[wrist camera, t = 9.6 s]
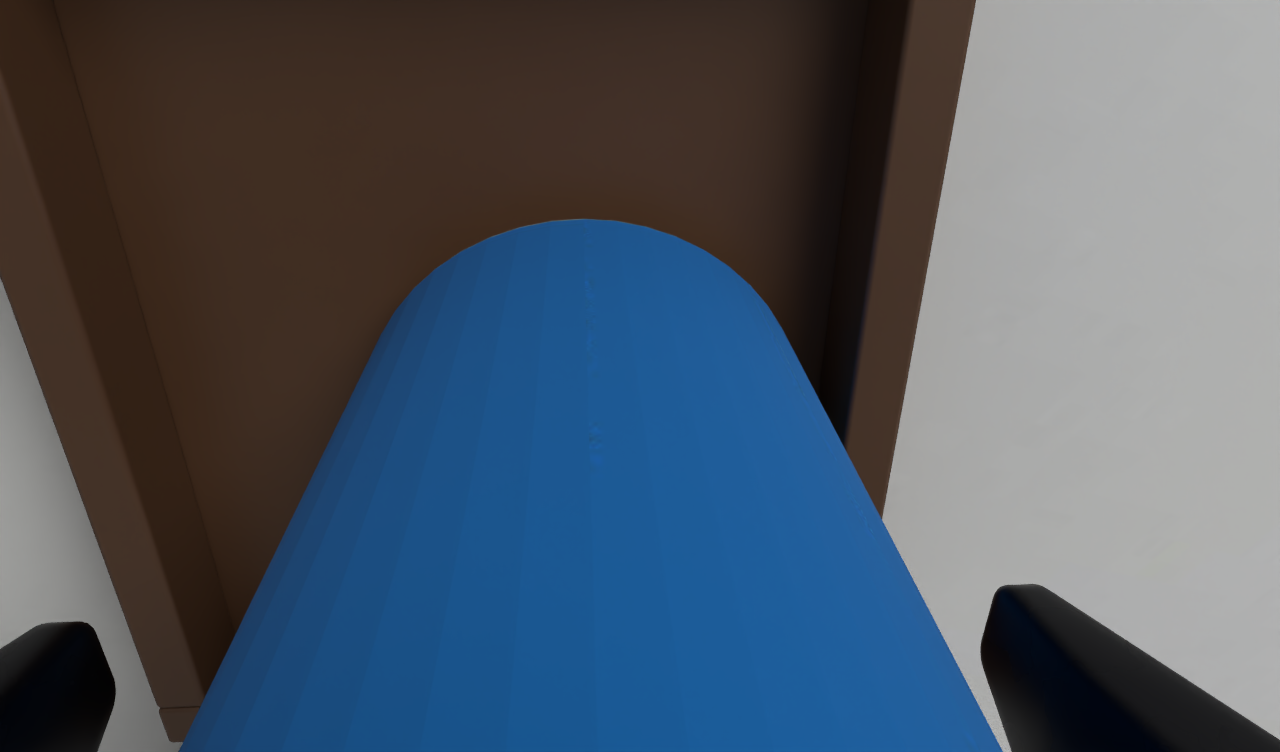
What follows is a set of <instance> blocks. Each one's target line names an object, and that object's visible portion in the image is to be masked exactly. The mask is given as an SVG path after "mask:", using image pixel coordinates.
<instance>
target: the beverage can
mask: <svg viewBox="0 0 1280 752" xmlns="http://www.w3.org/2000/svg"><path fill="white" fill-rule="evenodd" d="M179 752H1003V751H1002V749H1001V747H1000V746H999V744H998V742H997V740H996V738H995V736H994V734H993V732H992V730H991V728H990V726H989V724H988V723H987V721H986V719H985V717H984V715H983V713H982V711H981V709H980V707H979V705H978V703H977V701H976V700H975V698H974V696H973V694H972V692H971V690H970V688H969V686H968V684H967V682H966V680H965V678H964V676H963V675H962V673H961V671H960V669H959V667H958V665H957V663H956V661H955V659H954V657H953V655H952V653H951V652H950V650H949V648H948V646H947V644H946V642H945V640H944V638H943V636H942V634H941V632H940V630H939V629H938V627H937V625H936V623H935V621H934V619H933V617H932V615H931V613H930V611H929V609H928V607H927V606H926V604H925V602H924V600H923V598H922V596H921V594H920V592H919V590H918V588H917V586H916V584H915V583H914V581H913V579H912V577H911V575H910V573H909V571H908V569H907V567H906V565H905V563H904V561H903V560H902V558H901V556H900V554H899V552H898V550H897V548H896V546H895V544H894V542H893V540H892V538H891V536H890V535H889V533H888V531H887V529H886V527H885V525H884V523H883V521H882V519H881V517H880V515H879V513H878V512H877V510H876V508H875V506H874V504H873V502H872V500H871V498H870V496H869V494H868V492H867V490H866V489H865V487H864V485H863V483H862V481H861V479H860V477H859V475H858V473H857V471H856V469H855V467H854V466H853V464H852V462H851V460H850V458H849V456H848V454H847V452H846V450H845V448H844V446H843V444H842V443H841V441H840V439H839V437H838V435H837V433H836V431H835V429H834V427H833V425H832V423H831V421H830V420H829V418H828V416H827V414H826V412H825V410H824V408H823V406H822V404H821V402H820V400H819V398H818V396H817V395H816V393H815V391H814V389H813V387H812V385H811V383H810V381H809V379H808V377H807V375H806V373H805V372H804V370H803V368H802V366H801V364H800V362H799V360H798V358H797V356H796V354H795V352H794V350H793V349H792V347H791V345H790V343H789V341H788V339H787V337H786V335H785V333H784V331H783V329H782V328H781V326H780V324H779V323H778V321H777V320H776V318H775V316H774V315H773V313H772V312H771V310H770V308H769V307H768V305H767V304H766V303H765V302H764V301H763V300H762V298H761V297H760V296H759V295H758V294H757V293H756V291H755V290H754V289H753V288H752V287H751V285H749V284H748V283H747V282H746V281H745V280H744V279H743V278H742V277H740V276H739V275H738V274H737V273H736V272H735V271H734V270H732V269H731V268H730V267H729V266H728V265H726V264H725V263H723V262H722V261H720V260H719V259H717V258H716V257H714V256H713V255H711V254H710V253H708V252H706V251H705V250H703V249H701V248H699V247H697V246H695V245H693V244H691V243H689V242H687V241H685V240H682V239H680V238H678V237H676V236H673V235H670V234H667V233H664V232H661V231H658V230H655V229H652V228H649V227H646V226H640V225H635V224H630V223H624V222H619V221H611V220H595V219H573V220H558V221H549V222H544V223H539V224H533V225H528V226H523V227H519V228H516V229H513V230H510V231H507V232H504V233H501V234H498V235H495V236H492V237H489V238H487V239H485V240H483V241H481V242H479V243H477V244H475V245H473V246H471V247H469V248H467V249H465V250H463V251H461V252H459V253H458V254H456V255H455V256H454V257H452V258H451V259H449V260H448V261H446V262H445V263H443V264H442V265H440V266H439V267H437V268H436V269H435V270H433V271H432V272H431V273H430V274H429V275H428V276H427V277H426V278H425V279H423V280H422V281H421V282H420V283H419V284H418V285H417V286H416V287H415V288H414V289H413V290H412V291H411V292H410V293H409V295H408V296H407V297H406V298H405V299H404V301H403V302H402V303H401V304H400V305H399V307H398V308H397V309H396V310H395V312H394V314H393V315H392V317H391V319H390V320H389V322H388V324H387V325H386V327H385V328H384V330H383V332H382V333H381V335H380V337H379V340H378V342H377V344H376V346H375V348H374V350H373V352H372V354H371V356H370V358H369V360H368V362H367V364H366V366H365V368H364V370H363V373H362V375H361V377H360V379H359V381H358V383H357V385H356V387H355V389H354V391H353V393H352V395H351V397H350V399H349V401H348V403H347V406H346V408H345V410H344V412H343V414H342V416H341V418H340V420H339V422H338V424H337V426H336V428H335V430H334V432H333V434H332V436H331V438H330V441H329V443H328V445H327V447H326V449H325V451H324V453H323V455H322V457H321V459H320V461H319V463H318V465H317V467H316V469H315V471H314V474H313V476H312V478H311V480H310V482H309V484H308V486H307V488H306V490H305V492H304V494H303V496H302V498H301V500H300V502H299V504H298V507H297V509H296V511H295V513H294V515H293V517H292V519H291V521H290V523H289V525H288V527H287V529H286V531H285V533H284V535H283V537H282V540H281V542H280V544H279V546H278V548H277V550H276V552H275V554H274V556H273V558H272V560H271V562H270V564H269V566H268V568H267V570H266V573H265V575H264V577H263V579H262V581H261V583H260V585H259V587H258V589H257V591H256V593H255V595H254V597H253V599H252V601H251V603H250V606H249V608H248V610H247V612H246V614H245V616H244V618H243V620H242V622H241V624H240V626H239V628H238V630H237V632H236V634H235V636H234V639H233V641H232V643H231V645H230V647H229V649H228V651H227V653H226V655H225V657H224V659H223V661H222V663H221V665H220V667H219V669H218V671H217V674H216V676H215V678H214V680H213V682H212V684H211V686H210V688H209V690H208V692H207V694H206V696H205V698H204V700H203V702H202V704H201V707H200V709H199V711H198V713H197V715H196V717H195V719H194V721H193V723H192V725H191V727H190V729H189V731H188V733H187V735H186V737H185V740H184V742H183V744H182V746H181V748H180V750H179Z"/></svg>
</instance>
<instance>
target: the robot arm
mask: <svg viewBox="0 0 1280 752" xmlns="http://www.w3.org/2000/svg"><path fill="white" fill-rule="evenodd" d="M980 652H981V661H982V665H983V669H984V672H985V675H986V678H987V681H988V684H989V687H990V689H991V692H992V695H993V698H994V701H995V704H996V707H997V710H998V713H999V716H1000V719H1001V722H1002V724H1003V727H1004V730H1005V733H1006V736H1007V739H1008V742H1009V745H1010V748H1011V751H1012V752H1280V740H1279V739H1277V738H1276V737H1274V736H1273V735H1271V734H1270V733H1268V732H1267V731H1265V730H1264V729H1262V728H1261V727H1259V726H1257V725H1256V724H1254V723H1253V722H1251V721H1250V720H1248V719H1247V718H1245V717H1244V716H1242V715H1241V714H1239V713H1237V712H1236V711H1234V710H1233V709H1231V708H1230V707H1228V706H1227V705H1225V704H1224V703H1222V702H1221V701H1219V700H1217V699H1216V698H1214V697H1213V696H1211V695H1210V694H1208V693H1207V692H1205V691H1204V690H1202V689H1201V688H1199V687H1197V686H1196V685H1194V684H1193V683H1191V682H1190V681H1188V680H1187V679H1185V678H1184V677H1182V676H1181V675H1179V674H1177V673H1176V672H1174V671H1173V670H1171V669H1170V668H1168V667H1167V666H1165V665H1164V664H1162V663H1161V662H1159V661H1157V660H1156V659H1154V658H1153V657H1151V656H1150V655H1148V654H1147V653H1145V652H1144V651H1142V650H1141V649H1139V648H1137V647H1136V646H1134V645H1133V644H1131V643H1130V642H1128V641H1127V640H1125V639H1124V638H1122V637H1121V636H1119V635H1117V634H1116V633H1114V632H1113V631H1111V630H1110V629H1108V628H1107V627H1105V626H1104V625H1102V624H1101V623H1099V622H1097V621H1096V620H1094V619H1093V618H1091V617H1090V616H1088V615H1087V614H1085V613H1084V612H1082V611H1081V610H1079V609H1077V608H1076V607H1074V606H1073V605H1071V604H1070V603H1068V602H1067V601H1065V600H1064V599H1062V598H1061V597H1059V596H1057V595H1056V594H1054V593H1053V592H1051V591H1050V590H1048V589H1046V588H1045V587H1043V586H1040V585H1036V584H1023V585H1005V586H1002V587H1000V588H999V589H998V590H997V591H996V592H995V594H994V597H993V600H992V604H991V608H990V611H989V615H988V619H987V622H986V626H985V630H984V633H983V637H982V641H981V650H980ZM115 695H116V688H115V681H114V677H113V675H112V672H111V670H110V667H109V665H108V662H107V660H106V657H105V655H104V652H103V649H102V647H101V644H100V642H99V639H98V637H97V634H96V632H95V630H94V628H93V627H91V626H90V625H89V624H88V623H84V622H55V623H45V624H41V625H38V626H36V627H34V628H32V629H31V630H29V631H27V632H26V633H24V634H23V635H21V636H20V637H18V638H17V639H15V640H13V641H12V642H10V643H9V644H7V645H6V646H4V647H3V648H1V649H0V752H97V751H98V749H99V746H100V743H101V740H102V738H103V735H104V732H105V729H106V726H107V724H108V721H109V718H110V715H111V712H112V710H113V706H114V702H115Z"/></svg>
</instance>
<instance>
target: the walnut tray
mask: <svg viewBox="0 0 1280 752" xmlns="http://www.w3.org/2000/svg"><path fill="white" fill-rule="evenodd" d="M975 3H976V0H0V277H1V280H2V282H3V285H4V288H5V291H6V293H7V296H8V299H9V301H10V304H11V307H12V310H13V312H14V315H15V318H16V321H17V323H18V326H19V329H20V332H21V334H22V337H23V340H24V343H25V345H26V348H27V351H28V353H29V356H30V359H31V362H32V364H33V367H34V370H35V373H36V375H37V378H38V381H39V384H40V386H41V389H42V392H43V394H44V397H45V400H46V403H47V405H48V408H49V411H50V414H51V416H52V419H53V422H54V425H55V427H56V430H57V433H58V436H59V438H60V441H61V444H62V446H63V449H64V452H65V455H66V457H67V460H68V463H69V466H70V468H71V471H72V474H73V477H74V479H75V482H76V485H77V487H78V490H79V493H80V496H81V498H82V501H83V504H84V507H85V509H86V512H87V515H88V518H89V520H90V523H91V526H92V529H93V531H94V534H95V537H96V539H97V542H98V545H99V548H100V550H101V553H102V556H103V559H104V561H105V564H106V567H107V570H108V572H109V575H110V578H111V581H112V583H113V586H114V589H115V591H116V594H117V597H118V600H119V602H120V605H121V608H122V611H123V613H124V616H125V619H126V622H127V624H128V627H129V630H130V632H131V635H132V638H133V641H134V643H135V646H136V649H137V652H138V654H139V657H140V660H141V663H142V665H143V668H144V671H145V674H146V676H147V679H148V682H149V684H150V687H151V690H152V693H153V695H154V698H155V701H156V704H157V706H158V707H160V709H159V714H160V717H161V719H162V722H163V725H164V728H165V730H166V733H167V736H168V738H169V741H171V742H184V740H185V737H186V735H187V733H188V731H189V729H190V727H191V725H192V723H193V721H194V719H195V717H196V715H197V713H198V711H199V709H200V707H201V704H202V702H203V700H204V698H205V696H206V694H207V692H208V690H209V688H210V686H211V684H212V682H213V680H214V678H215V676H216V674H217V671H218V669H219V667H220V665H221V663H222V661H223V659H224V657H225V655H226V653H227V651H228V649H229V647H230V645H231V643H232V641H233V639H234V636H235V634H236V632H237V630H238V628H239V626H240V624H241V622H242V620H243V618H244V616H245V614H246V612H247V610H248V608H249V606H250V603H251V601H252V599H253V597H254V595H255V593H256V591H257V589H258V587H259V585H260V583H261V581H262V579H263V577H264V575H265V573H266V570H267V568H268V566H269V564H270V562H271V560H272V558H273V556H274V554H275V552H276V550H277V548H278V546H279V544H280V542H281V540H282V537H283V535H284V533H285V531H286V529H287V527H288V525H289V523H290V521H291V519H292V517H293V515H294V513H295V511H296V509H297V507H298V504H299V502H300V500H301V498H302V496H303V494H304V492H305V490H306V488H307V486H308V484H309V482H310V480H311V478H312V476H313V474H314V471H315V469H316V467H317V465H318V463H319V461H320V459H321V457H322V455H323V453H324V451H325V449H326V447H327V445H328V443H329V441H330V438H331V436H332V434H333V432H334V430H335V428H336V426H337V424H338V422H339V420H340V418H341V416H342V414H343V412H344V410H345V408H346V406H347V403H348V401H349V399H350V397H351V395H352V393H353V391H354V389H355V387H356V385H357V383H358V381H359V379H360V377H361V375H362V373H363V370H364V368H365V366H366V364H367V362H368V360H369V358H370V356H371V354H372V352H373V350H374V348H375V346H376V344H377V342H378V340H379V337H380V335H381V333H382V332H383V330H384V328H385V327H386V325H387V324H388V322H389V320H390V319H391V317H392V315H393V314H394V312H395V310H396V309H397V308H398V307H399V305H400V304H401V303H402V302H403V301H404V299H405V298H406V297H407V296H408V295H409V293H410V292H411V291H412V290H413V289H414V288H415V287H416V286H417V285H418V284H419V283H420V282H421V281H422V280H423V279H425V278H426V277H427V276H428V275H429V274H430V273H431V272H432V271H433V270H435V269H436V268H437V267H439V266H440V265H442V264H443V263H445V262H446V261H448V260H449V259H451V258H452V257H454V256H455V255H456V254H458V253H459V252H461V251H463V250H465V249H467V248H469V247H471V246H473V245H475V244H477V243H479V242H481V241H483V240H485V239H487V238H489V237H492V236H495V235H498V234H501V233H504V232H507V231H510V230H513V229H516V228H519V227H523V226H528V225H533V224H539V223H544V222H549V221H558V220H573V219H595V220H611V221H619V222H624V223H630V224H635V225H640V226H646V227H649V228H652V229H655V230H658V231H661V232H664V233H667V234H670V235H673V236H676V237H678V238H680V239H682V240H685V241H687V242H689V243H691V244H693V245H695V246H697V247H699V248H701V249H703V250H705V251H706V252H708V253H710V254H711V255H713V256H714V257H716V258H717V259H719V260H720V261H722V262H723V263H725V264H726V265H728V266H729V267H730V268H731V269H732V270H734V271H735V272H736V273H737V274H738V275H739V276H740V277H742V278H743V279H744V280H745V281H746V282H747V283H748V284H749V285H751V287H752V288H753V289H754V290H755V291H756V293H757V294H758V295H759V296H760V297H761V298H762V300H763V301H764V302H765V303H766V304H767V305H768V307H769V308H770V310H771V312H772V313H773V315H774V316H775V318H776V320H777V321H778V323H779V324H780V326H781V328H782V329H783V331H784V333H785V335H786V337H787V339H788V341H789V343H790V345H791V347H792V349H793V350H794V352H795V354H796V356H797V358H798V360H799V362H800V364H801V366H802V368H803V370H804V372H805V373H806V375H807V377H808V379H809V381H810V383H811V385H812V387H813V389H814V391H815V393H816V395H817V396H818V398H819V400H820V402H821V404H822V406H823V408H824V410H825V412H826V414H827V416H828V418H829V420H830V421H831V423H832V425H833V427H834V429H835V431H836V433H837V435H838V437H839V439H840V441H841V443H842V444H843V446H844V448H845V450H846V452H847V454H848V456H849V458H850V460H851V462H852V464H853V466H854V467H855V469H856V471H857V473H858V475H859V477H860V479H861V481H862V483H863V485H864V487H865V489H866V490H867V492H868V494H869V496H870V498H871V500H872V502H873V504H874V506H875V508H876V510H877V512H878V513H879V515H880V517H881V519H882V516H883V510H884V505H885V499H886V494H887V488H888V483H889V477H890V472H891V466H892V461H893V455H894V450H895V444H896V439H897V433H898V428H899V422H900V416H901V411H902V405H903V400H904V394H905V389H906V383H907V378H908V372H909V367H910V361H911V356H912V350H913V345H914V339H915V334H916V328H917V323H918V317H919V312H920V306H921V301H922V295H923V290H924V284H925V279H926V273H927V268H928V262H929V256H930V251H931V245H932V240H933V234H934V229H935V223H936V218H937V212H938V207H939V201H940V196H941V190H942V185H943V179H944V174H945V168H946V163H947V157H948V152H949V146H950V141H951V135H952V130H953V124H954V119H955V113H956V108H957V102H958V96H959V91H960V85H961V80H962V74H963V69H964V63H965V58H966V52H967V47H968V41H969V36H970V30H971V25H972V19H973V14H974V8H975Z"/></svg>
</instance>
